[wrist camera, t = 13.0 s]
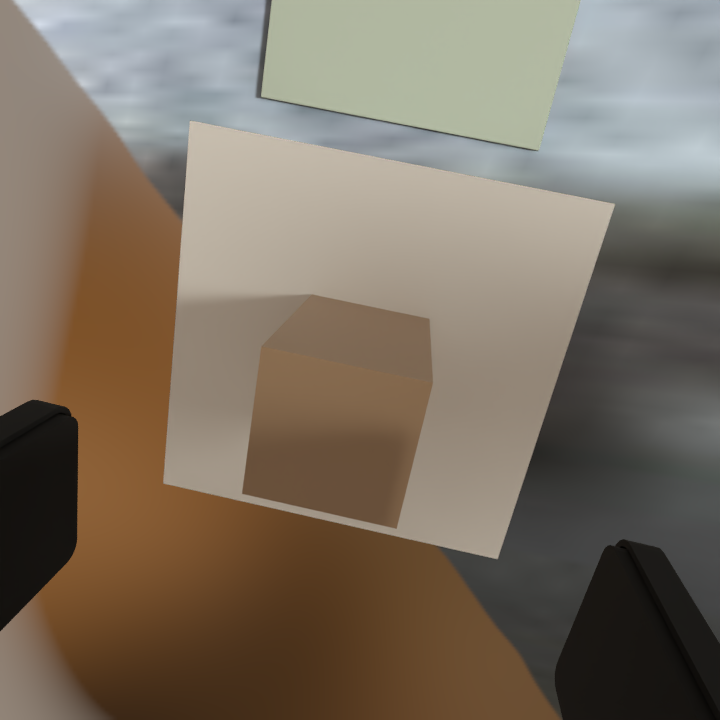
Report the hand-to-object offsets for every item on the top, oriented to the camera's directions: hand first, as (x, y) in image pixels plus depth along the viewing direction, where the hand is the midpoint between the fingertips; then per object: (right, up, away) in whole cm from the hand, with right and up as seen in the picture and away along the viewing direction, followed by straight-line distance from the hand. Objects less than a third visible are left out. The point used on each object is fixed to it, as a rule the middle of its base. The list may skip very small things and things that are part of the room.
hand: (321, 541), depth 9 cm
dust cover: (+2, +8, +24) cm, 26 cm away
